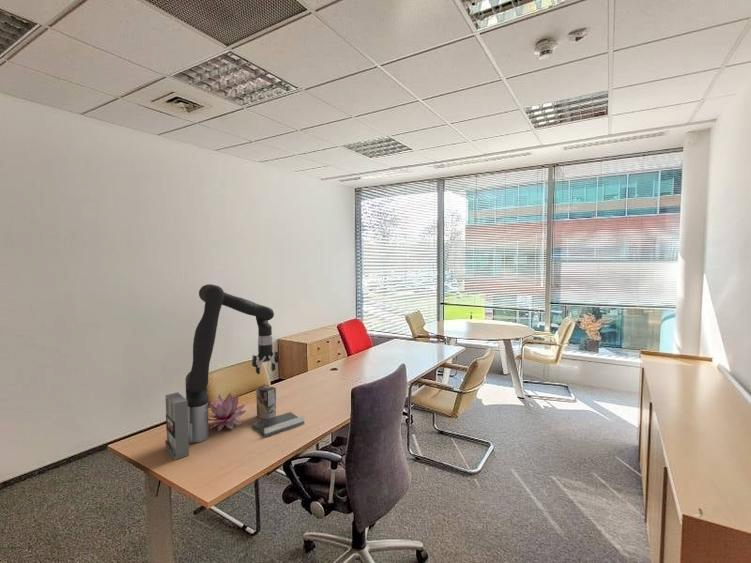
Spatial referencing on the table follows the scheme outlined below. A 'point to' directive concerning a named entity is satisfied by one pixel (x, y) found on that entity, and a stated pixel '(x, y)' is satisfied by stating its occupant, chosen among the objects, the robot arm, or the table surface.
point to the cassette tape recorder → (177, 425)
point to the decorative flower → (225, 412)
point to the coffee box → (266, 401)
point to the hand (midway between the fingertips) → (265, 372)
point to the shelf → (278, 424)
